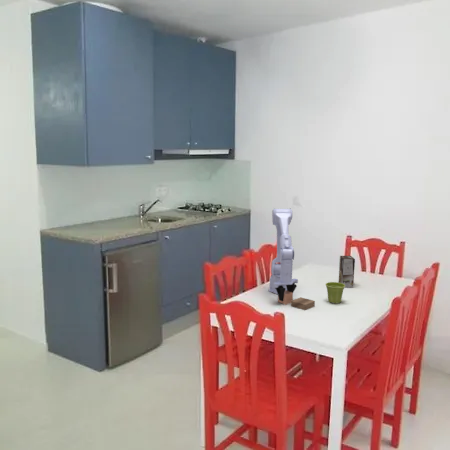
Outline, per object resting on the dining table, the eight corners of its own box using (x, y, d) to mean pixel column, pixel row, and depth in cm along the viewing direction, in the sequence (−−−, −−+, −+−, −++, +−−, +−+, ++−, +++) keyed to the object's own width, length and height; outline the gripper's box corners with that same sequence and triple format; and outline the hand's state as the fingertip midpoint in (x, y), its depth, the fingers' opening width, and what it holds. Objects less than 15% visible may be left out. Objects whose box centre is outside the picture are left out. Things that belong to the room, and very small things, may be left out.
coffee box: (353, 288, 250) (355, 259, 247) (341, 287, 250) (343, 258, 248) (349, 283, 259) (351, 255, 256) (338, 283, 259) (339, 255, 257)
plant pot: (330, 305, 221) (331, 288, 220) (321, 299, 230) (322, 282, 229) (347, 303, 224) (348, 286, 222) (338, 298, 233) (339, 281, 231)
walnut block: (291, 306, 219) (291, 300, 219) (300, 303, 225) (300, 297, 225) (305, 311, 214) (305, 304, 213) (314, 307, 220) (314, 301, 219)
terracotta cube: (277, 301, 225) (278, 291, 225) (285, 299, 228) (285, 290, 228) (285, 304, 221) (285, 294, 221) (292, 302, 224) (292, 292, 224)
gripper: (280, 276, 215) (280, 304, 217) (302, 272, 224) (301, 298, 226) (270, 273, 221) (270, 300, 223) (292, 269, 229) (291, 295, 231)
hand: (285, 299), depth 225 cm, fingers closed on terracotta cube, 5 cm apart
